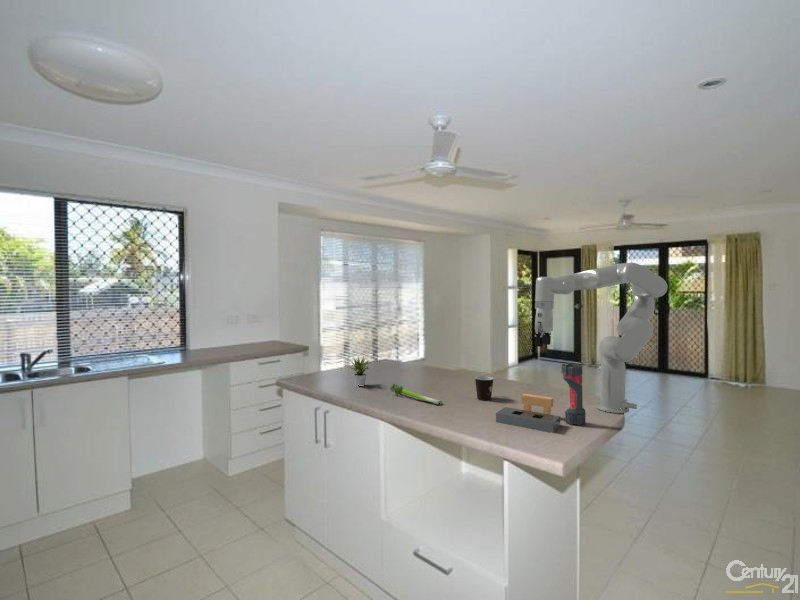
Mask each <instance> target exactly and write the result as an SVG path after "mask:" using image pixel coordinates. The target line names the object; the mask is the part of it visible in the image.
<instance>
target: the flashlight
mask: <svg viewBox="0 0 800 600" xmlns="http://www.w3.org/2000/svg"><path fill="white" fill-rule="evenodd" d="M583 373H584V371H583V366H582V365H581V364H579V363H576V364H573V363H567V364H565V363H562V364H561V374H562V378H563V380H564V382H566V383H567V384H568V387H569V404H570V405H569V408H567V409H566V410H565V411H564V420H565V422H564V423H566V424H569V425H570V426H573V425H577V426H585V425H586V424H587V423H586V409H585V408H584V407H583V403H584V402H583Z"/></svg>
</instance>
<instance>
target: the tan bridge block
mask: <svg viewBox="0 0 800 600" xmlns="http://www.w3.org/2000/svg"><path fill="white" fill-rule="evenodd" d="M521 404H523V410H526V411H532V406H534V407H541V408H543V413H544V414H550V415H552V414H551V413H552V408H553V407H554V397H550V396H543V395H537V394H536V395H535V394H529V393H523V394H521Z"/></svg>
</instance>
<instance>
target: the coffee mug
mask: <svg viewBox="0 0 800 600" xmlns="http://www.w3.org/2000/svg"><path fill="white" fill-rule="evenodd" d="M474 383H475V390H476V391H475V392H476V399H477V400H478V399H479V400H478V401H482V402H485V401H488V400H489V401H491V400H492V394H493V387H494V386H493V384H494V377H493V376H487V375H486V376H485V375H478V376H475V377H474Z"/></svg>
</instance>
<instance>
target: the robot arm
mask: <svg viewBox="0 0 800 600" xmlns="http://www.w3.org/2000/svg"><path fill="white" fill-rule="evenodd" d="M621 284H631V292H632V296H633V302H632V305H631V306H630V308H629V309H628V310H627V312H625V314H624V315H623V317H622V318H621V319H620V320H619V322H618V323H617V326H616V331H617V334H618V335H620V336H615V335H607V336H605V337H603V338H602V339H601V341H599V345H598V352H599V353H598V354H599V359H600V397H599V398H600V402H599V403H597V404H596V408H597V409H598V410H600V411H602V412H605V411H606V412H607V413H610V412H611V414H612V413H613V414H626V413H629V412H630V409H633V410H637V409H638V404H636V403H635V402H628V399H627V398H626V364H625V363H627V362H630V361H633V360H634V359H635V358H636V357H637V356H638V355H639V354H640V352H641V351H642V350H643V348H644V347H645V346H646V345H647V343H649V341H650V340H651V338H652V335H653V333H654V327H653V324H652V322H650V319H651V317H652V315H654V312H655V309H656V303H655V298H660V297H663V296H664V295H665V294H666V293H667V292H668V284H667V282H666V280H665V279H664V278H663V277H661V276H660V275H658V274H656V273H654V272H653V271H651V270H650V269H648V268H647V267H645V266H643V265H641V264H639V263H636V262H623V263H617V264H613V265H608V266H603V267H598V268H593V269H589V270H588V269H587V270H584V271H581V272H576V273H571V274H567V275H561V276H556V277H552V276H538V277H537V278H536V279H535V296H534V301H535V302H534V309H535V317H534V346H535V347H539V348H542V347H544V345H547V346H548V345H549V346H550V345H551V341H552V340H551V339H552V338H551V337H552V332H553V331H554V307H555V306H554V305H555V304H554V303H555V301H554V300H555V295H571V294H572V293H573V292H574V291H581V290H583V291H584V290H598V289H603V288H607V287H612V286H616V285H621ZM620 408H621V409H622V410H621V409H620Z"/></svg>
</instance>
